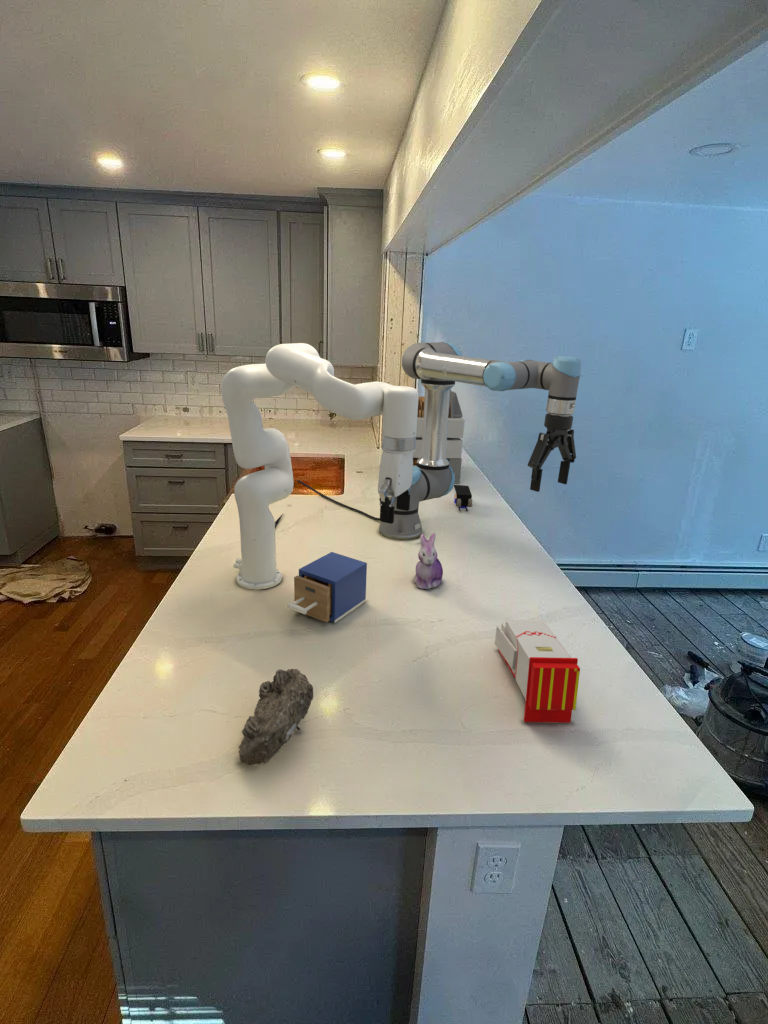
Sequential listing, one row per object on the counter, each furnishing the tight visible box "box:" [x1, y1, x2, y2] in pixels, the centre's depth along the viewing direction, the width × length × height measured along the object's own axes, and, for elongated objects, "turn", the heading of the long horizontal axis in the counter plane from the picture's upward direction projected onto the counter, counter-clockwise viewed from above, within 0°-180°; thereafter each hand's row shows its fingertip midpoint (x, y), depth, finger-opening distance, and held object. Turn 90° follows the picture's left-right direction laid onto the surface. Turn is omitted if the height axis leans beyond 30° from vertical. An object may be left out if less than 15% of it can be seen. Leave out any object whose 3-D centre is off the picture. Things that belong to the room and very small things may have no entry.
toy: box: [494, 619, 581, 724], centre depth 121 cm, size 12×13×30 cm
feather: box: [275, 513, 284, 529], centre depth 210 cm, size 2×28×2 cm
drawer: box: [287, 575, 332, 623], centre depth 144 cm, size 18×10×9 cm, turn 148°
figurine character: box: [453, 484, 473, 512], centre depth 229 cm, size 7×8×15 cm
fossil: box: [238, 668, 314, 766], centre depth 104 cm, size 22×10×15 cm
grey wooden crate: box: [397, 384, 465, 484], centre depth 268 cm, size 34×33×41 cm
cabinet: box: [298, 551, 368, 624], centre depth 149 cm, size 14×12×12 cm
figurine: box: [413, 532, 444, 590], centre depth 162 cm, size 9×10×15 cm
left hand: (395, 515), depth 131 cm, fingers open, 9 cm apart
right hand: (548, 486), depth 165 cm, fingers open, 13 cm apart
